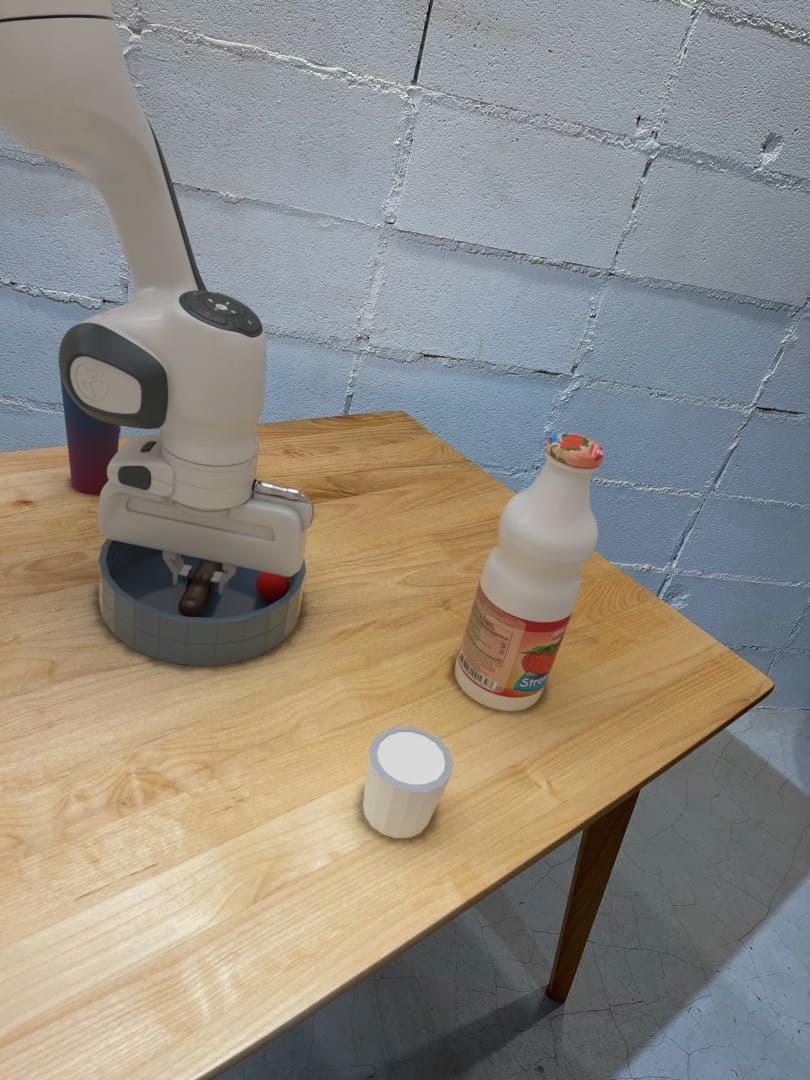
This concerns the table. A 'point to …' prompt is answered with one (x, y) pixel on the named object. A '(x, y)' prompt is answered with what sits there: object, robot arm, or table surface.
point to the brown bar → (198, 589)
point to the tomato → (272, 586)
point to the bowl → (213, 639)
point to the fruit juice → (531, 580)
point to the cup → (88, 446)
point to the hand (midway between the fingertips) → (199, 587)
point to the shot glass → (404, 780)
